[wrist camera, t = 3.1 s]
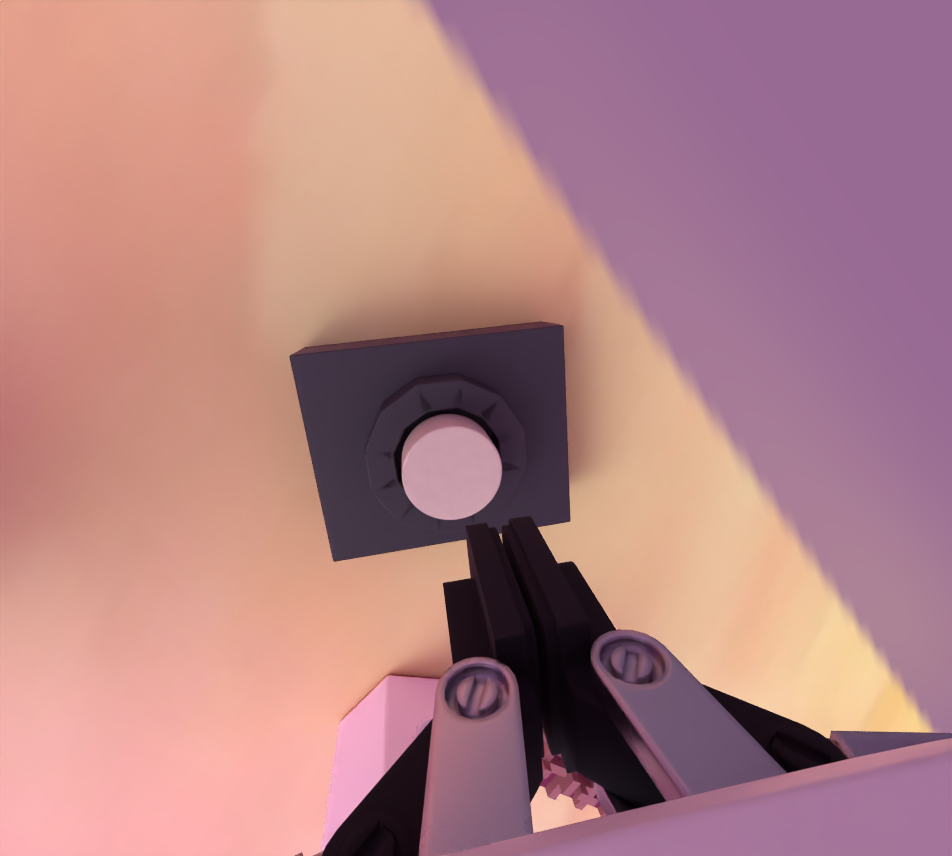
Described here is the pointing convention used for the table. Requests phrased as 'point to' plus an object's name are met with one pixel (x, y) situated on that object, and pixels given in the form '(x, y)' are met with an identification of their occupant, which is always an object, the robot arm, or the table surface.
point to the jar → (375, 741)
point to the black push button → (418, 398)
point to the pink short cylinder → (450, 467)
